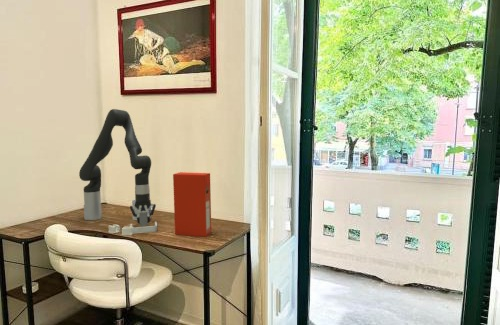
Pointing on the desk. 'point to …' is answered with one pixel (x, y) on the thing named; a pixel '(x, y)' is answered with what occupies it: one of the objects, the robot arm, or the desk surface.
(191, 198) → the file binder
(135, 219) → the ink cartridge box
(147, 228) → the bracket
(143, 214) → the connector
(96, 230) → the desk surface
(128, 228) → the clip
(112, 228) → the clip
